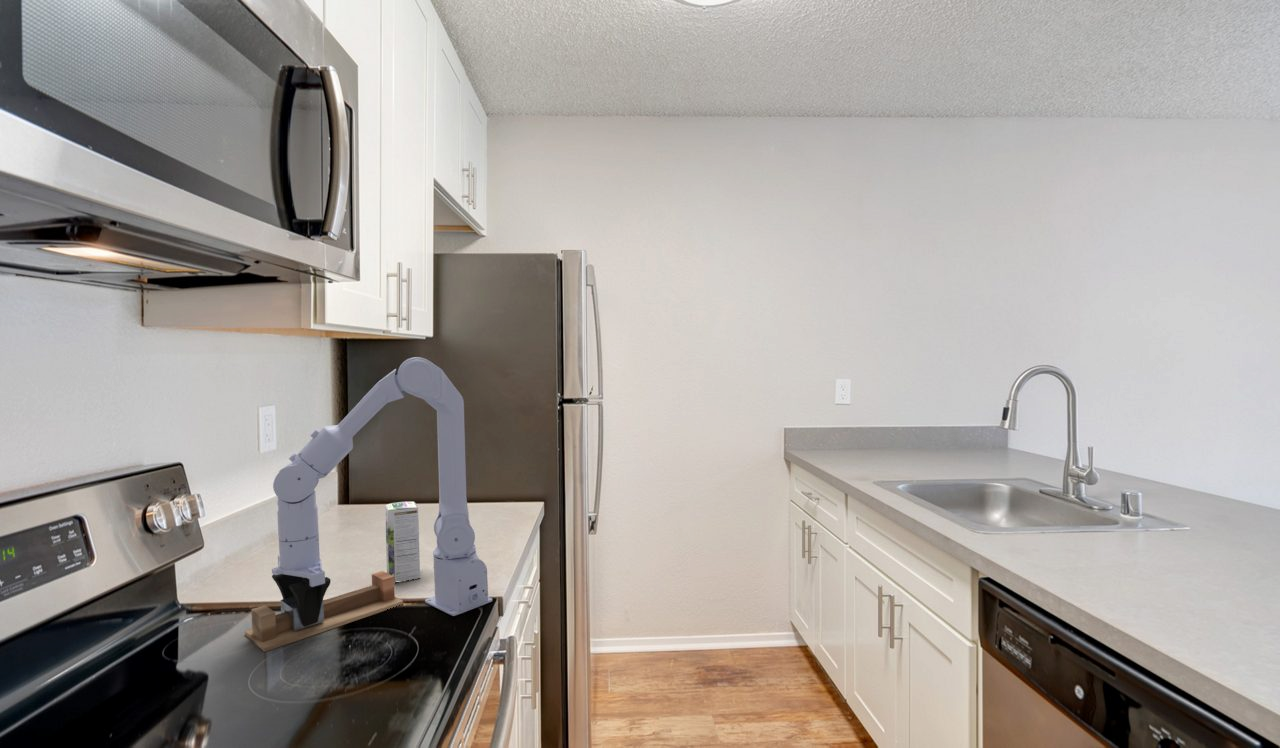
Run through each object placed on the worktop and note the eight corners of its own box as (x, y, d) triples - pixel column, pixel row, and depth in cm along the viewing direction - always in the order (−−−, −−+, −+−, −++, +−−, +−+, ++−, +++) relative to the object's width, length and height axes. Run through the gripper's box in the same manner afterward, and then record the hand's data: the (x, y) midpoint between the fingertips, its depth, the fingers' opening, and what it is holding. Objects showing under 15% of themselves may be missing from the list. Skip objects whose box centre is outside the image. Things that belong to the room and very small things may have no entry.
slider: (324, 621, 101) (323, 599, 100) (294, 631, 97) (293, 609, 97) (310, 612, 104) (309, 591, 104) (281, 621, 101) (280, 600, 101)
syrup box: (386, 575, 123) (383, 503, 123) (417, 569, 126) (414, 499, 125) (389, 584, 118) (386, 510, 118) (421, 578, 121) (418, 505, 120)
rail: (403, 604, 109) (402, 578, 109) (264, 652, 93) (263, 621, 92) (379, 591, 115) (378, 567, 115) (245, 634, 99) (243, 606, 98)
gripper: (256, 534, 102) (260, 614, 103) (288, 552, 92) (292, 640, 93) (301, 524, 107) (305, 601, 108) (337, 540, 98) (340, 624, 98)
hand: (302, 618), depth 101 cm, fingers closed on slider, 6 cm apart
